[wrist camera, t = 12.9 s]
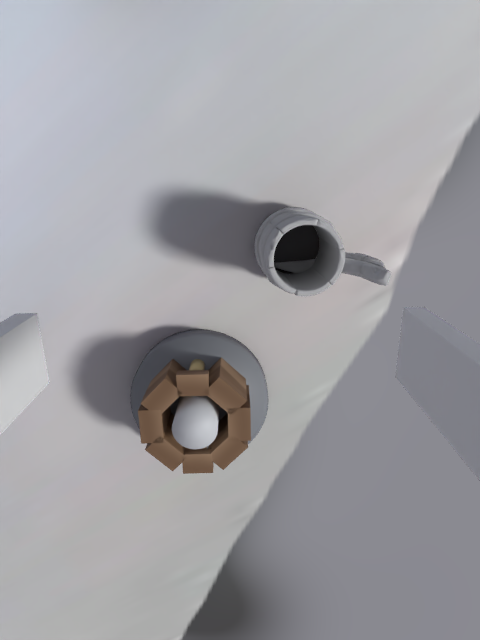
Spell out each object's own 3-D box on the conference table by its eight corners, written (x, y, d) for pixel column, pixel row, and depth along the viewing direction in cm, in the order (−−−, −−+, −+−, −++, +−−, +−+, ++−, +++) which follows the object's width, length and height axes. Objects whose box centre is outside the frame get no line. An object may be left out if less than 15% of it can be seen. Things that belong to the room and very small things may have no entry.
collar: (145, 356, 43) (134, 376, 38) (248, 353, 43) (249, 373, 38) (154, 445, 46) (144, 474, 41) (249, 443, 46) (251, 471, 41)
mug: (262, 199, 41) (272, 199, 30) (375, 224, 42) (427, 233, 30) (246, 273, 43) (250, 300, 32) (354, 295, 44) (395, 329, 33)
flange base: (129, 331, 45) (108, 358, 37) (266, 328, 45) (273, 354, 37) (141, 450, 49) (124, 496, 42) (266, 447, 49) (272, 492, 42)
